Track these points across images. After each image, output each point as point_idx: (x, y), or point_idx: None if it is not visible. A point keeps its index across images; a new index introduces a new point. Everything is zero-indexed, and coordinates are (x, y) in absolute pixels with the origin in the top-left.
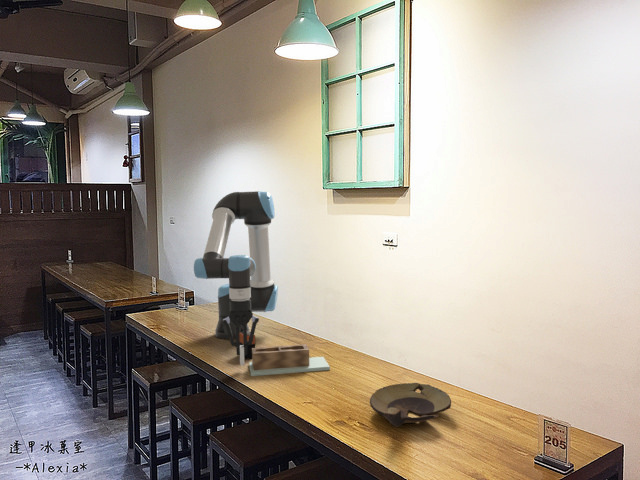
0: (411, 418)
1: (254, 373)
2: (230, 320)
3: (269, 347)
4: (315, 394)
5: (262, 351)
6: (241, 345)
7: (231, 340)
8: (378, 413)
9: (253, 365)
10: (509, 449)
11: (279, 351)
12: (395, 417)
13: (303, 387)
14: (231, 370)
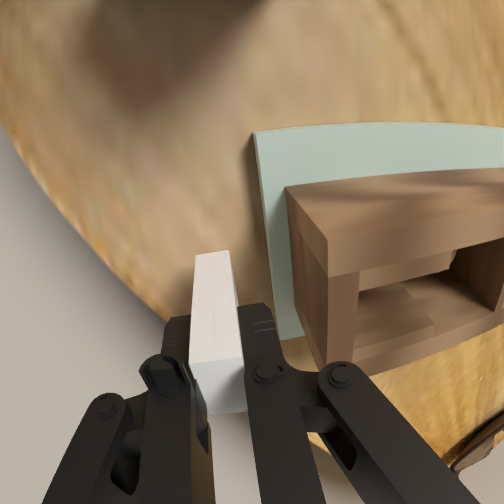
0: (467, 466)
1: (297, 333)
2: None
3: (476, 234)
4: (433, 415)
5: (403, 339)
6: (215, 367)
7: (122, 484)
8: (452, 466)
9: (302, 326)
10: (493, 445)
11: (487, 326)
12: None
13: (430, 392)
14: (139, 234)
